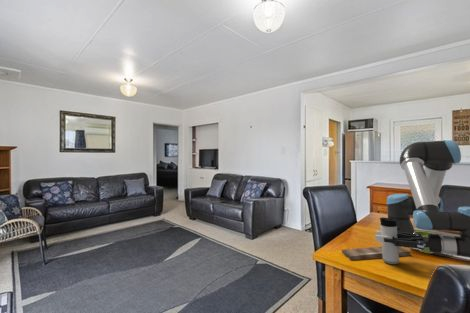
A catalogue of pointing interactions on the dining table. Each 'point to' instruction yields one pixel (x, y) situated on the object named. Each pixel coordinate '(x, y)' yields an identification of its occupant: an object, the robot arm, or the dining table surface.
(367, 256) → the walnut board
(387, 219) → the travel mug
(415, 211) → the robot arm
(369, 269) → the dining table surface
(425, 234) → the plant pot
